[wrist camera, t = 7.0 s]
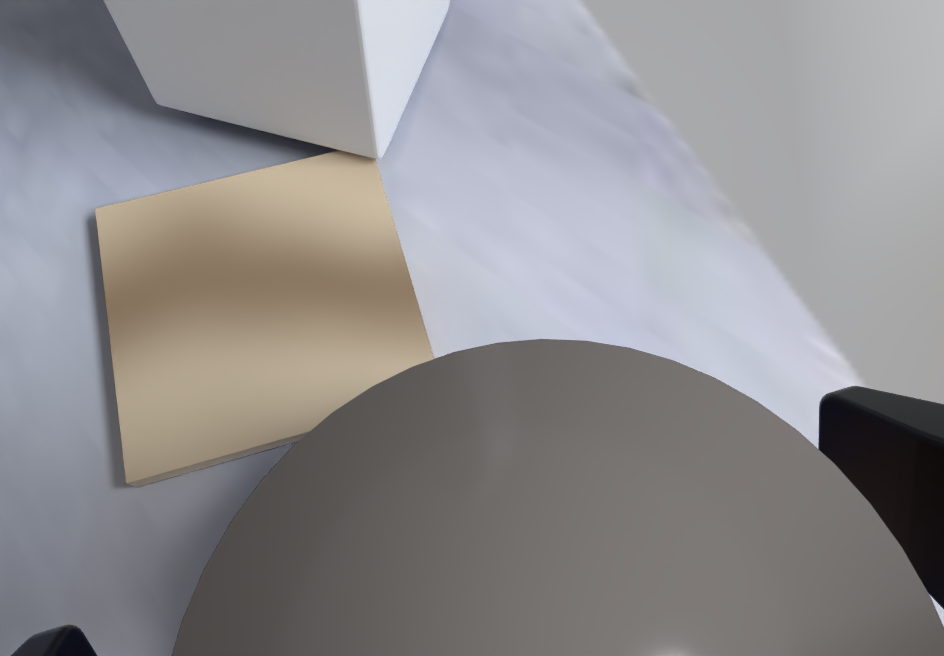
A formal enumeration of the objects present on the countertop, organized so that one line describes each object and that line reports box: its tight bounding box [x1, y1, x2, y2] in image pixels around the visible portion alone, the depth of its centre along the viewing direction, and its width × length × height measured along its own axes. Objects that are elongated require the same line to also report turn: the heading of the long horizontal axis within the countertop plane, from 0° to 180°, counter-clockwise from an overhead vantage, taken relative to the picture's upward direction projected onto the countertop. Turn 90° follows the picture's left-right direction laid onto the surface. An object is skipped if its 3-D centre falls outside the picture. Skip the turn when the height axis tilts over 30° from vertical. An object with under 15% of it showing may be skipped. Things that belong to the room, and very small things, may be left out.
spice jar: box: [172, 339, 944, 656], centre depth 9 cm, size 5×5×12 cm
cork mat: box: [95, 150, 434, 487], centre depth 19 cm, size 8×8×1 cm
